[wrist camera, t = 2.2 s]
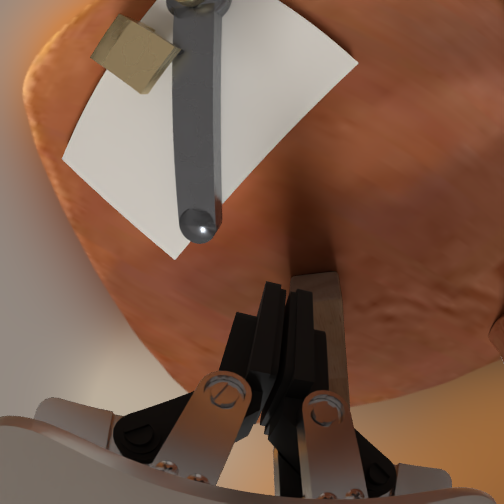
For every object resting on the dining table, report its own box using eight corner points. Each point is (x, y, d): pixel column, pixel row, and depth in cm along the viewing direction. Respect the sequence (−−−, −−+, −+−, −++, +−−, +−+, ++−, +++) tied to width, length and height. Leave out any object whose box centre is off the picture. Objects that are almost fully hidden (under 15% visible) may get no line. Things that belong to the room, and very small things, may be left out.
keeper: (183, -23, 14) (159, -43, 10) (238, 7, 16) (223, -15, 12) (117, 60, 19) (83, 57, 15) (164, 94, 20) (134, 94, 16)
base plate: (203, -36, 15) (197, -43, 13) (355, 65, 18) (358, 63, 16) (71, 155, 25) (61, 159, 24) (180, 252, 28) (175, 260, 27)
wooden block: (289, 274, 27) (266, 463, 12) (337, 269, 26) (356, 459, 11) (302, 342, 31) (288, 498, 16) (342, 338, 30) (348, 496, 14)
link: (177, -15, 15) (167, -23, 13) (232, -23, 14) (226, -33, 12) (181, 231, 25) (172, 241, 23) (231, 234, 24) (225, 245, 23)
